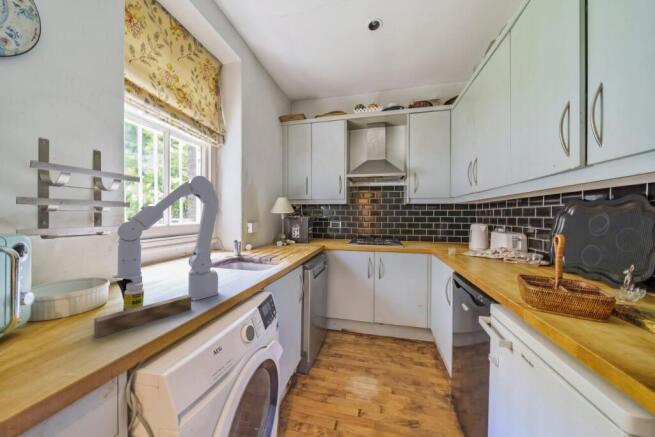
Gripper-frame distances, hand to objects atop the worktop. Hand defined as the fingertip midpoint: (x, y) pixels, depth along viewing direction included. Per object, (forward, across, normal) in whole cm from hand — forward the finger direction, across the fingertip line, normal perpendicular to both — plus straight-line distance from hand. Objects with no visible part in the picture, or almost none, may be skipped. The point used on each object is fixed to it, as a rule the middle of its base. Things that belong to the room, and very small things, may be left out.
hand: (129, 302), depth 75 cm
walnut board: (+2, +15, 0) cm, 15 cm away
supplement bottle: (+2, +4, 0) cm, 4 cm away
